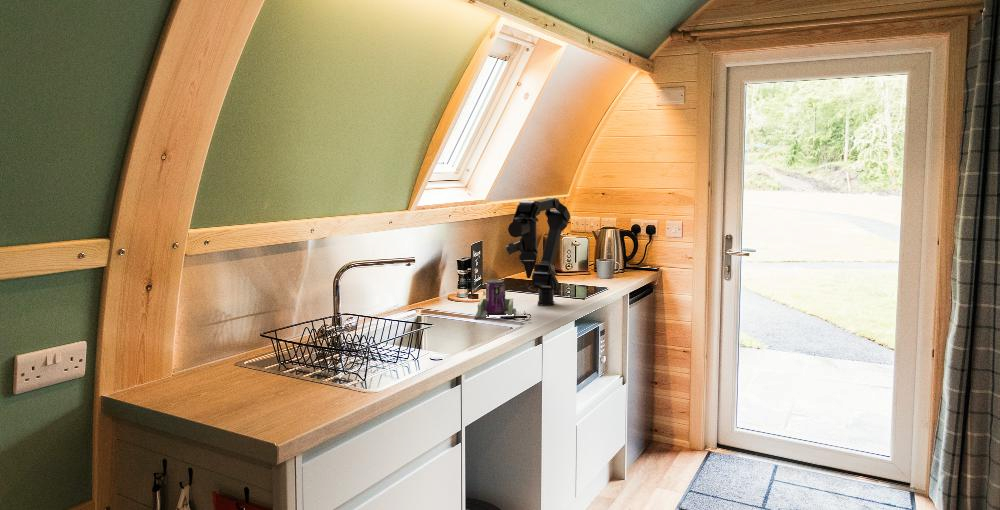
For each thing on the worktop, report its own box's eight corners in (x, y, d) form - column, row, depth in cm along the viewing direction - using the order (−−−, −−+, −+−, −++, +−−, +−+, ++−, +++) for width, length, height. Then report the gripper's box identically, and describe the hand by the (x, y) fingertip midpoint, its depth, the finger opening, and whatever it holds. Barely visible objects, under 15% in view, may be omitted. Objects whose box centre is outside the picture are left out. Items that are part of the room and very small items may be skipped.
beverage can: (502, 315, 281) (501, 282, 279) (483, 314, 283) (482, 281, 281) (508, 311, 287) (507, 279, 286) (489, 310, 289) (489, 278, 288)
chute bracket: (479, 310, 294) (478, 297, 293) (516, 310, 293) (515, 297, 292) (474, 319, 279) (474, 305, 279) (513, 319, 278) (513, 306, 277)
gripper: (508, 232, 299) (509, 272, 301) (505, 237, 281) (505, 280, 283) (537, 231, 298) (538, 272, 300) (536, 237, 280) (536, 280, 282)
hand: (529, 276), depth 291 cm, fingers open, 9 cm apart
